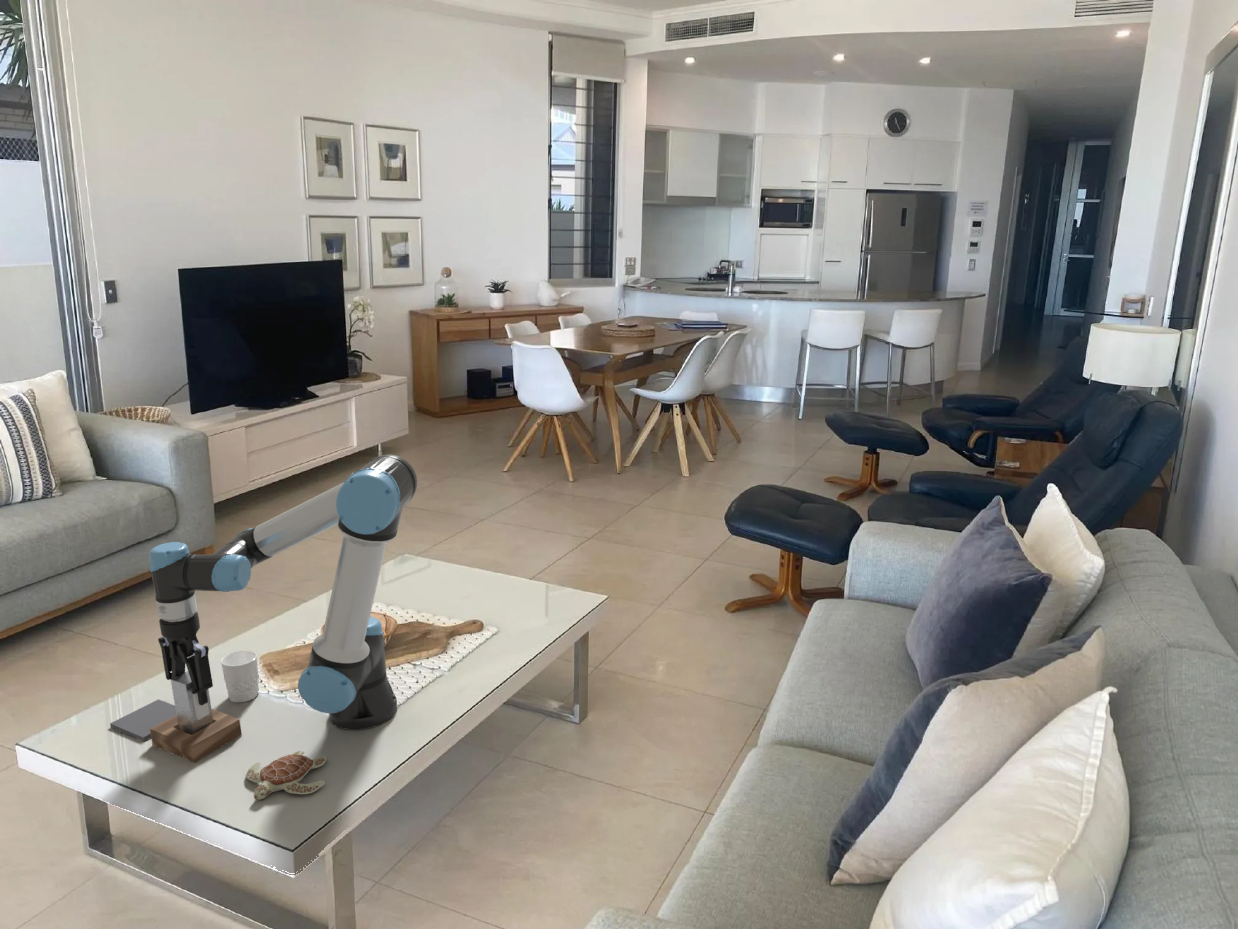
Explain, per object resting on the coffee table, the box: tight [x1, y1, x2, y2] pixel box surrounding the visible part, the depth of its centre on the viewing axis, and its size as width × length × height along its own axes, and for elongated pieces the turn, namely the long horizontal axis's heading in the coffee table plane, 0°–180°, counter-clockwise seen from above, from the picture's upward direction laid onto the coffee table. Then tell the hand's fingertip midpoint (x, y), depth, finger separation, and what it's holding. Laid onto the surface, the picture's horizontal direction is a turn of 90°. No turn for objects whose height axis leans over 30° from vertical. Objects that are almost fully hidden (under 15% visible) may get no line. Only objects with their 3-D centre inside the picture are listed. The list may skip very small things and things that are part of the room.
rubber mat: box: [109, 699, 177, 742], centre depth 212 cm, size 12×12×1 cm
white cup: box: [220, 650, 260, 704], centre depth 221 cm, size 8×8×10 cm
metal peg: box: [170, 670, 214, 735], centre depth 202 cm, size 5×5×14 cm
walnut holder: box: [150, 708, 243, 764], centre depth 204 cm, size 14×12×4 cm
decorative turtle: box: [245, 750, 327, 801], centre depth 189 cm, size 18×17×5 cm
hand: (194, 713), depth 202 cm, fingers closed on metal peg, 5 cm apart
